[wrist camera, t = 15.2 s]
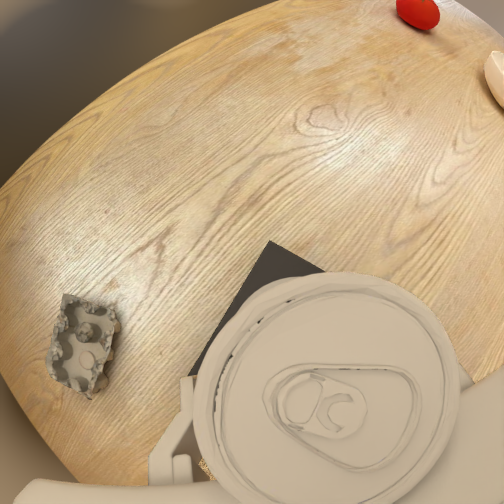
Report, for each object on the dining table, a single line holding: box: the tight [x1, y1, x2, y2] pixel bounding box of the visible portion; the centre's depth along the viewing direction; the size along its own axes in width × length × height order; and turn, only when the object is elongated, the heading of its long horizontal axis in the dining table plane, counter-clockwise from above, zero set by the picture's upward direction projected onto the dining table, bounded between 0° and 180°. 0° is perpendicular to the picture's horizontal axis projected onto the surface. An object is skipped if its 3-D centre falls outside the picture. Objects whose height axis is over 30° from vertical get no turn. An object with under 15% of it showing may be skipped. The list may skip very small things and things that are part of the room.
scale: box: [188, 240, 325, 376], centre depth 30 cm, size 18×16×4 cm
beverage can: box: [193, 272, 461, 504], centre depth 12 cm, size 6×6×15 cm
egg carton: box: [45, 294, 121, 400], centre depth 29 cm, size 11×8×4 cm
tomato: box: [396, 0, 440, 30], centre depth 47 cm, size 11×13×10 cm
